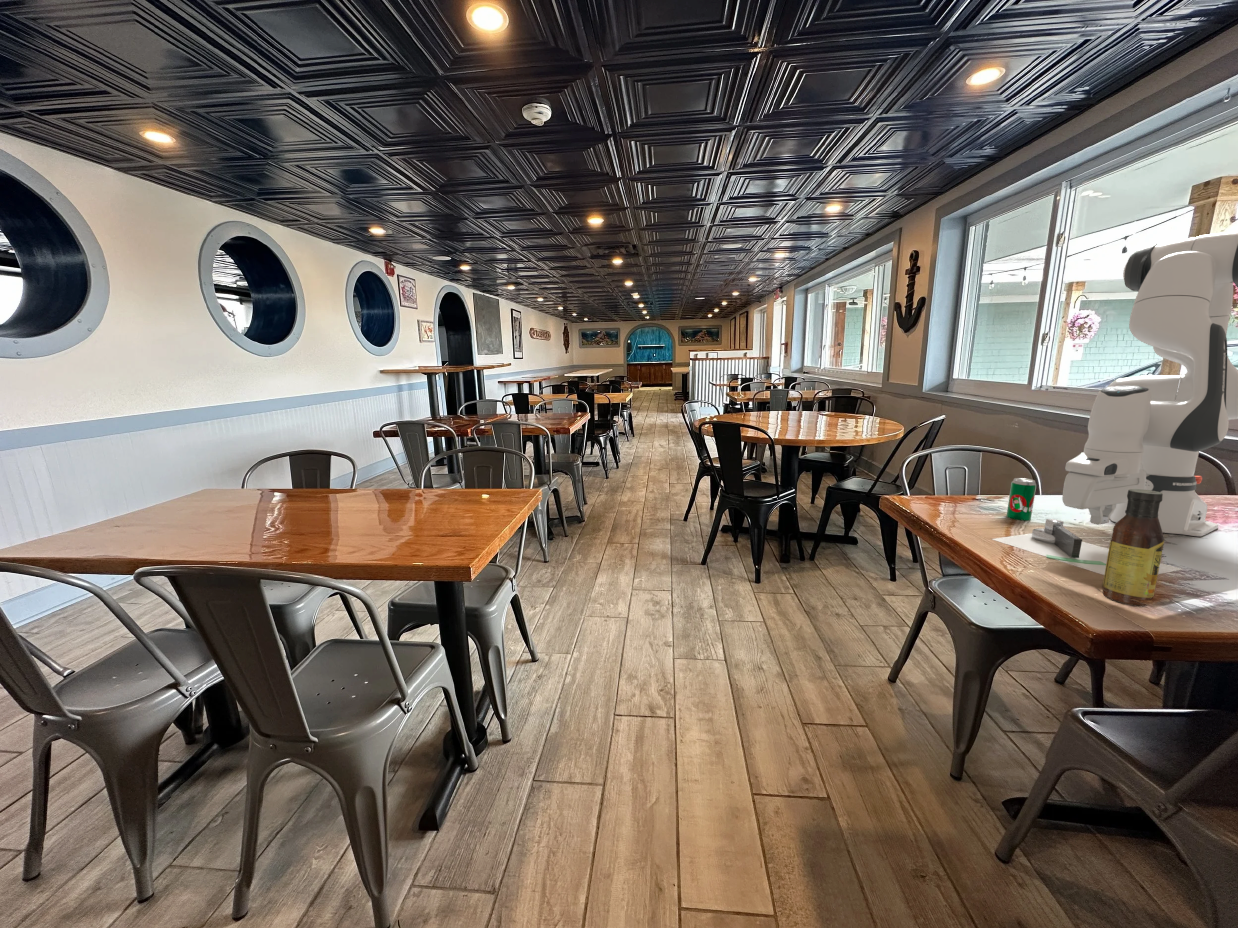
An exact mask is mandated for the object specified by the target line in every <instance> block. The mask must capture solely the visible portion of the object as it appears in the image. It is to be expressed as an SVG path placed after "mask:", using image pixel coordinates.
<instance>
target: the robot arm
mask: <svg viewBox="0 0 1238 928" xmlns="http://www.w3.org/2000/svg"><path fill="white" fill-rule="evenodd" d="M1122 276H1123V281H1124V282H1123V283H1124V285H1125V287H1126V288H1127V289H1129V290H1131V291H1133V292H1137V294H1136V297H1135V300H1134V302H1133V305H1132V309H1131V312H1130V317H1129V323H1128V329H1129V331H1130V333H1131V334H1132V335H1133V336H1134V338H1135V339H1137V340H1138V341H1140V342H1141V343H1143V344H1145V345H1148V346H1150V347H1152V349H1153V351H1154V353H1155V354H1156V355H1157V356H1158V357H1160V358H1162V359H1165V360H1168V361H1171V362H1174V363H1176V364H1179V365H1182V366H1183V367H1185V369H1186V370H1187V371H1186V373H1184V374H1179V375H1178V374H1174V375H1173V374H1171V375H1170V374H1169V375H1166V374H1165V375H1163V374H1162V375H1161V374H1159V375H1157V374H1156V375H1154V374H1152V375H1149V374H1148V375H1146V374H1145V375H1144V374H1143V375H1135V376H1128V377H1120V378H1116V379H1115V380H1114V381H1112V382H1111V383H1110V384H1108V385H1107V387H1105V388H1103V389H1100V390H1099V391H1098V393H1097V395H1096V396H1095V399H1094V401H1093V404H1092V407H1091V410H1090V415H1089V419H1088V424H1087V432H1088V437H1087V440H1086V442H1085V444H1084V446H1083V452H1081V453H1079V454H1078V455H1077V456H1075V457H1074V458H1072V459H1069V460H1068V461H1067V462H1066V464H1065V471H1066V472H1068V473H1067V474H1066V476H1065V479H1064V482H1063V489H1062V490H1063V491H1062V497H1061V499H1062V504H1063V505H1064V506H1065V507H1068V508H1072V509H1078V510H1088V512H1089V515H1090V521H1089V522H1090V523H1091V524H1093V525H1096V526H1097V525H1098V526H1099V525H1104V524H1108V523H1110V521H1112V522H1113V523H1115V524H1116V523H1117V522H1118V521H1119V520H1120V519H1122V518H1123V517H1124V516H1125V515H1126V513H1125V510H1126V509H1127V503H1128V498H1127V494H1128V490H1129V489H1142V490H1151V491H1156V492H1161V493H1162V494H1163V497H1162V501H1161V502H1160V504H1159V511H1158V519H1159V522H1160V526H1161V529H1162V533H1163V534H1165V533H1166V534H1177V535H1186V536H1194V537H1203V536H1205V535H1207V534H1210V533H1211V532H1213V531H1215V530H1217V529H1218V528H1219V523H1215V522H1212V521H1208V520H1206V517H1207V513H1208V504H1207V503H1206V502H1205V501H1204V500H1203V499H1202V498H1201V497H1200V496H1199V494H1197V493H1196V491H1195V490H1197V485H1200V484H1201V483H1202V482H1203V476H1202V475H1195V471H1196V467H1197V463H1198V458H1199V453H1200V452H1201V451H1203V450H1208V449H1209V448H1212V447H1214V446H1217V445H1219V444H1221V443H1223V440H1224V438H1225V437H1226V436H1227V435H1228V434H1227V433H1228V430H1229V426H1230V423H1229V422H1230V421H1231V420H1238V369H1237V367H1235V365H1234V364H1233V362H1231V360H1230V359H1229V356H1228V339H1227V335H1228V334H1227V333H1228V327H1229V321H1230V317H1231V313H1232V308H1233V301H1234V285H1235V286H1236V288H1238V231H1230V232H1229V231H1228V232H1219V233H1218V232H1217V233H1209V234H1202V235H1199V236H1196V237H1195V236H1194V237H1189V238H1188V237H1187V238H1183V239H1178V240H1175V241H1170V242H1165V243H1160V244H1157V243H1156V244H1150V245H1147V246H1145V247H1141V248H1138V249H1137V250H1136V251H1134V252H1133V254H1131V255H1130V256H1129V258H1128V260H1127V262H1126V264H1125V265H1124V268H1123V275H1122Z"/></svg>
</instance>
